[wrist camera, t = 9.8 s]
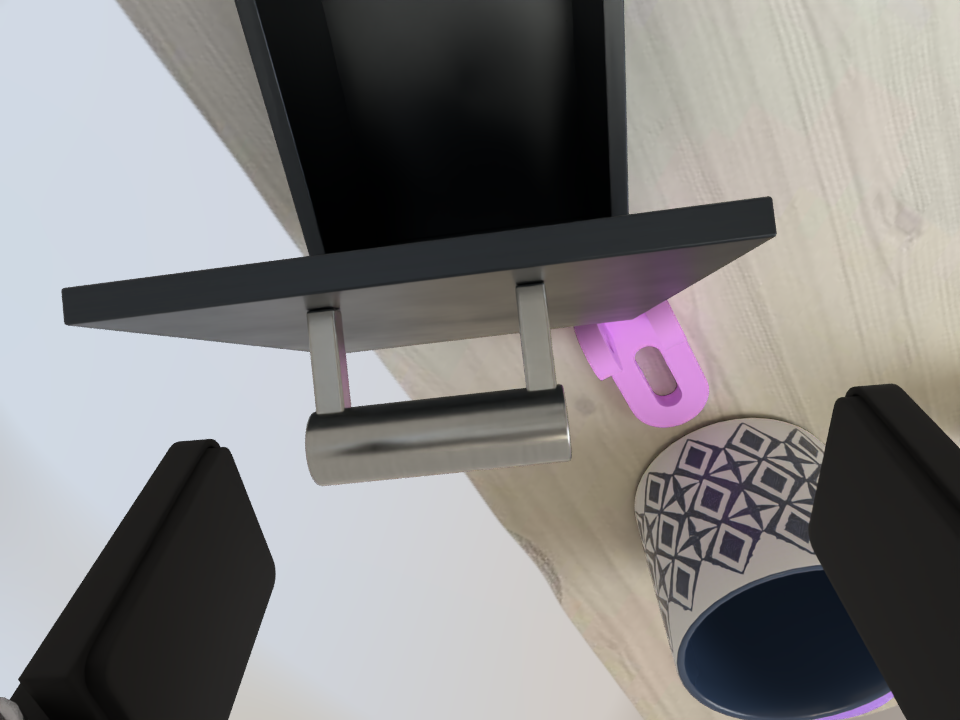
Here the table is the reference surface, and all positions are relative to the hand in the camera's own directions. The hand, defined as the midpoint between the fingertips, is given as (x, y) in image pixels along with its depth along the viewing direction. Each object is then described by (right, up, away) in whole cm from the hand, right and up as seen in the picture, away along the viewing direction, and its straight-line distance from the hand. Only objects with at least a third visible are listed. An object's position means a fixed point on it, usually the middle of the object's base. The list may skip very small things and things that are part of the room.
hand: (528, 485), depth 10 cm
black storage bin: (-2, +17, +27) cm, 32 cm away
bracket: (+11, +3, +36) cm, 37 cm away
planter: (+20, -9, +43) cm, 48 cm away
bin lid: (-2, +4, +12) cm, 13 cm away
